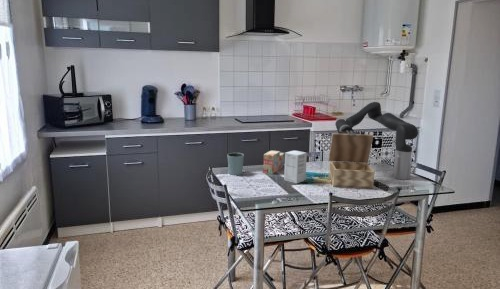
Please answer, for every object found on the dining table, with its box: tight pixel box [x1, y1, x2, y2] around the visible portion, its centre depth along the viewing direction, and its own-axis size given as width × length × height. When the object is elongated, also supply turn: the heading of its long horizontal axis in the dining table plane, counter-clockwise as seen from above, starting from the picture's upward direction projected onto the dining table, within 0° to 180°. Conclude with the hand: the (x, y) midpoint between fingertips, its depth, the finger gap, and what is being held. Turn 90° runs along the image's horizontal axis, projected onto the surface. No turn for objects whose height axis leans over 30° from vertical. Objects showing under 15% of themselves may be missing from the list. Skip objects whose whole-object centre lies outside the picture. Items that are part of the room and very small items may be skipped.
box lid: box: [328, 132, 374, 164], centre depth 223 cm, size 23×20×3 cm
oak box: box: [328, 161, 375, 190], centre depth 220 cm, size 22×18×10 cm
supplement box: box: [283, 150, 308, 184], centre depth 221 cm, size 10×9×17 cm
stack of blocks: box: [262, 150, 286, 175], centre depth 243 cm, size 21×6×12 cm, turn 154°
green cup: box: [227, 152, 245, 176], centre depth 231 cm, size 10×10×12 cm
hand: (351, 136), depth 221 cm, fingers closed
